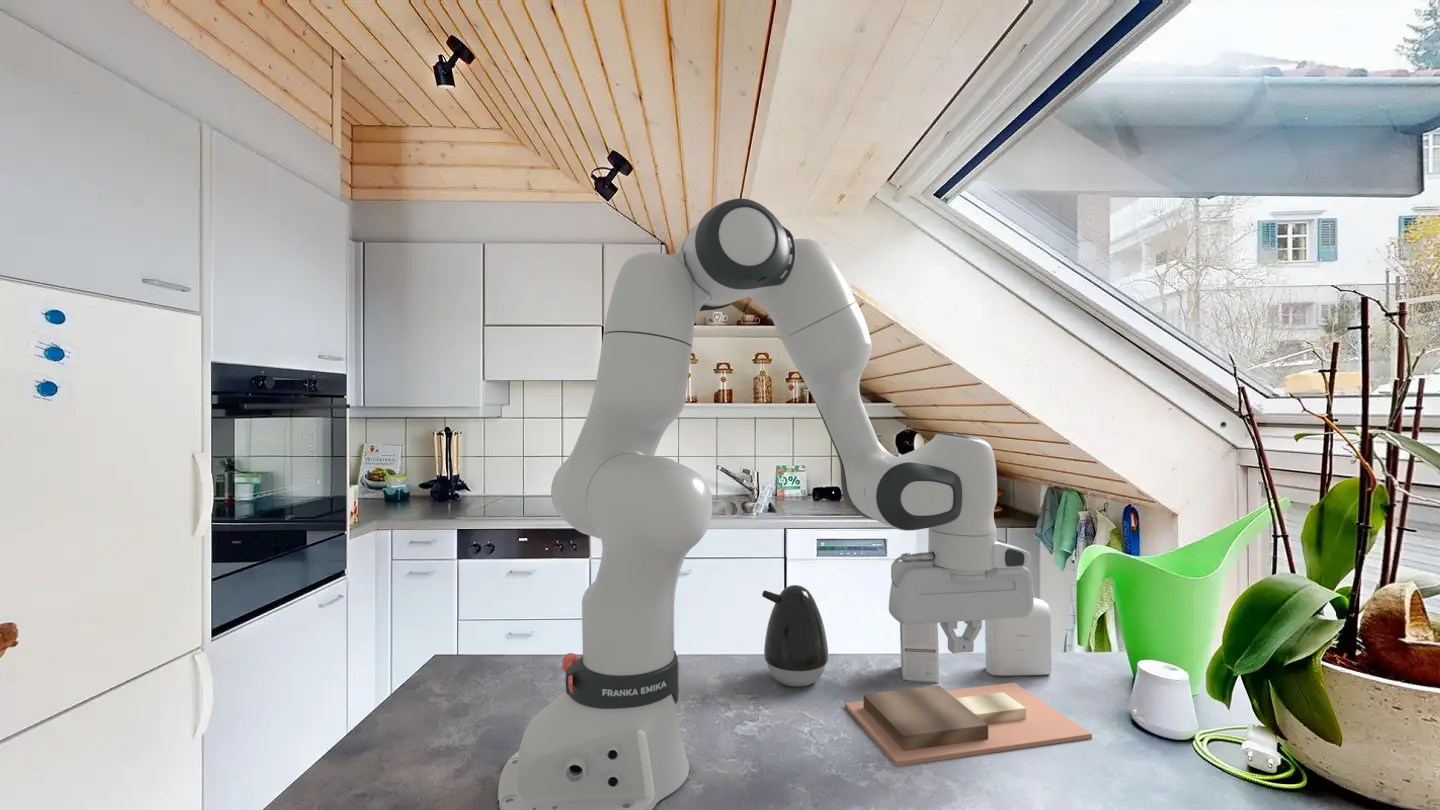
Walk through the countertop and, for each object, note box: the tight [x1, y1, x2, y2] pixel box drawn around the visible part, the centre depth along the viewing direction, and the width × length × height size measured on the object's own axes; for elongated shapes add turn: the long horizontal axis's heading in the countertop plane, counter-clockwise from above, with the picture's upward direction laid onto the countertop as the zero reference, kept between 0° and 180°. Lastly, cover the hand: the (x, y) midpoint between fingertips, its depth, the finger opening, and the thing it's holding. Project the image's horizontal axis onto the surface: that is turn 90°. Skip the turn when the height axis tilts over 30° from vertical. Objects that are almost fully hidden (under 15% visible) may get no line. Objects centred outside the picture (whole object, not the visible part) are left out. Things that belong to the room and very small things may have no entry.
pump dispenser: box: [761, 584, 829, 688], centre depth 107 cm, size 10×10×15 cm
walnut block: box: [863, 685, 988, 751], centre depth 92 cm, size 12×12×2 cm
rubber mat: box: [844, 682, 1093, 767], centre depth 93 cm, size 28×16×1 cm, turn 102°
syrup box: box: [899, 622, 940, 683], centre depth 109 cm, size 6×6×14 cm
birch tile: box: [955, 692, 1026, 724], centre depth 94 cm, size 8×5×2 cm, turn 102°
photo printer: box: [984, 597, 1052, 677], centre depth 109 cm, size 10×4×12 cm, turn 89°
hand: (960, 651), depth 92 cm, fingers closed
